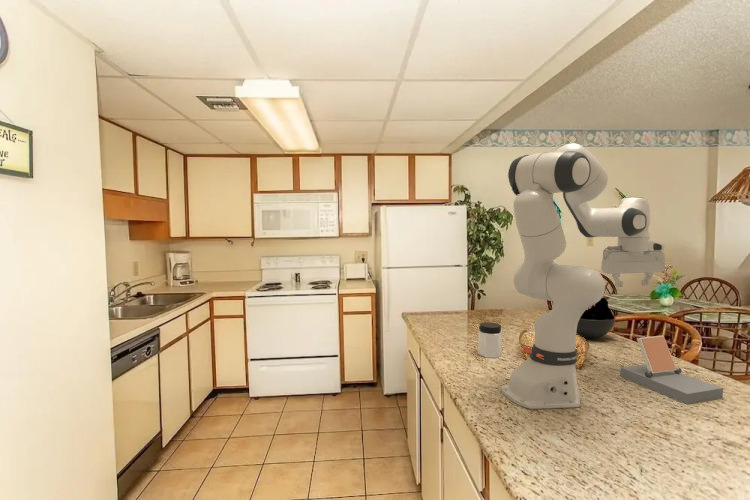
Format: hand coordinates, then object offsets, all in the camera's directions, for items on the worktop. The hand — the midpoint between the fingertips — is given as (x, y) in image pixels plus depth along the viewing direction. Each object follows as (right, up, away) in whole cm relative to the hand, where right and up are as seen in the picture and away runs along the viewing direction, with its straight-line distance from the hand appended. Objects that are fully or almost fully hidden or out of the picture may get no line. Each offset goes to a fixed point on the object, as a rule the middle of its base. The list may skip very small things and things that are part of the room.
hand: (632, 286), depth 127 cm
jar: (-42, -29, +20) cm, 55 cm away
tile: (+3, -22, -6) cm, 23 cm away
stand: (+4, -31, -10) cm, 32 cm away
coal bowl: (+10, -28, +44) cm, 53 cm away
